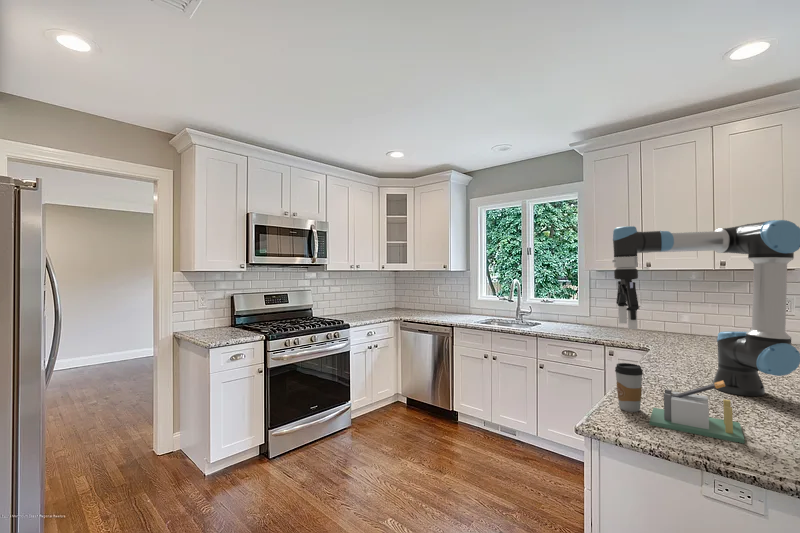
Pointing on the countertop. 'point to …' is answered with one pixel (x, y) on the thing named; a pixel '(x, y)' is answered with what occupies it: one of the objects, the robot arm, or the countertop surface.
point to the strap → (700, 389)
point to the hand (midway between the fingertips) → (627, 326)
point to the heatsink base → (710, 433)
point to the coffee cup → (629, 386)
